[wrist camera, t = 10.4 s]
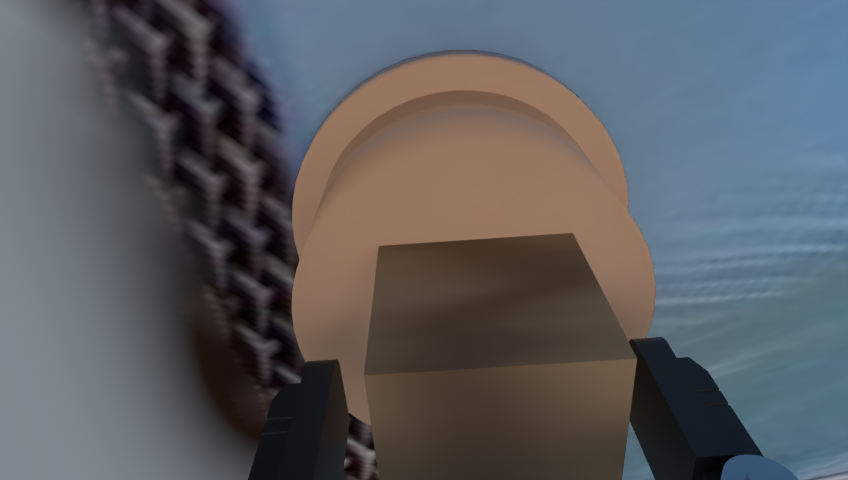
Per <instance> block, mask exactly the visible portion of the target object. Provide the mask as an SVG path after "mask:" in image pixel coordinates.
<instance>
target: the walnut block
mask: <svg viewBox="0 0 848 480" xmlns="http://www.w3.org/2000/svg"><path fill="white" fill-rule="evenodd" d="M636 364H637V357H636V355H635V353H634V351H633V350H632V348H631V346H630V344H629V342H628V340H627V338H626V336H625V334H624V332H623V330H622V328H621V326H620V324H619V322H618V320H617V318H616V316H615V314H614V312H613V310H612V309H611V307H610V305H609V303H608V301H607V299H606V297H605V295H604V293H603V291H602V289H601V287H600V285H599V283H598V281H597V279H596V277H595V275H594V273H593V271H592V269H591V268H590V266H589V264H588V262H587V260H586V258H585V256H584V254H583V252H582V250H581V248H580V246H579V244H578V242H577V240H576V238H575V236H574V234H573V233H563V234H548V235H533V236H518V237H503V238H488V239H474V240H459V241H444V242H429V243H414V244H399V245H384V246H379V248H378V257H377V265H376V274H375V283H374V291H373V300H372V309H371V317H370V326H369V334H368V343H367V352H366V360H365V369H364V381H365V387H366V394H367V400H368V407H369V414H370V420H371V427H372V434H373V440H374V447H375V453H376V460H377V467H378V473H379V480H622V474H623V467H624V459H625V451H626V443H627V435H628V427H629V419H630V411H631V403H632V395H633V387H634V379H635V371H636Z"/></svg>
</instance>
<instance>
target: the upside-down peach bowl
mask: <svg viewBox="0 0 848 480" xmlns="http://www.w3.org/2000/svg"><path fill="white" fill-rule="evenodd" d="M292 224H293V233H294V241H295V245H296V248H297V252H298V256H299V259H300V261H299V264H298V267H297V270H296V274H295V279H294V284H293V290H292V317H293V325H294V331H295V335H296V338H297V342H298V345H299V349H300V351H301V353H302V355H303V357H304V359H305V362H307V361H318V360H332V359H338V361H339V364H340V369H341V374H342V379H343V385H344V390H345V396H346V401H347V407H348V412H349V413H351V414H352V415H354V416H355V417H356V418H358V419H359V420H361V421H362V422H364V423H366V424H368V425H370V426H371V420H370V414H369V407H368V400H367V394H366V387H365V381H364V369H365V360H366V352H367V343H368V334H369V326H370V317H371V309H372V300H373V291H374V283H375V274H376V265H377V257H378V248H379V246H384V245H399V244H414V243H429V242H444V241H459V240H474V239H488V238H503V237H518V236H533V235H548V234H563V233H573V234H574V236H575V238H576V240H577V242H578V244H579V246H580V248H581V250H582V252H583V254H584V256H585V258H586V260H587V262H588V264H589V266H590V268H591V269H592V271H593V273H594V275H595V277H596V279H597V281H598V283H599V285H600V287H601V289H602V291H603V293H604V295H605V297H606V299H607V301H608V303H609V305H610V307H611V309H612V310H613V312H614V314H615V316H616V318H617V320H618V322H619V324H620V326H621V328H622V330H623V332H624V334H625V336H626V338H627V340H628V342H629V340H631V339H642V338H646V337H647V335H648V332H649V329H650V326H651V322H652V317H653V313H654V308H655V292H656V286H655V276H654V267H653V263H652V260H651V256H650V252H649V249H648V246H647V244H646V242H645V240H644V237H643V235H642V233H641V231H640V229H639V227H638V226H637V224H636V223H635V221H634V220H633V218H632V217H631V215H630V214H629V212H628V190H627V182H626V176H625V173H624V169H623V165H622V162H621V158H620V156H619V154H618V152H617V149H616V147H615V145H614V143H613V140H612V139H611V137H610V136H609V134H608V132H607V131H606V129H605V128H604V126H603V125H602V123H601V122H600V120H599V119H598V118H597V117H596V116H595V115H594V114H593V112H592V111H591V110H590V109H589V108H588V107H587V106H586V105H585V103H584V102H583V101H582V100H581V99H580V98H579V97H578V96H577V95H576V94H575V93H574V92H572V91H571V90H570V89H569V88H568V87H567V86H565V85H564V84H563V83H562V82H561V81H559V80H558V79H556V78H555V77H553V76H551V75H550V74H548V73H547V72H545V71H543V70H542V69H540V68H538V67H536V66H533V65H531V64H529V63H526V62H524V61H522V60H520V59H516V58H512V57H509V56H505V55H502V54H498V53H492V52H484V51H477V50H449V51H441V52H434V53H427V54H424V55H420V56H416V57H413V58H409V59H406V60H403V61H401V62H398V63H396V64H394V65H391V66H389V67H387V68H384V69H382V70H381V71H379V72H377V73H376V74H374V75H372V76H371V77H369V78H367V79H366V80H364V81H363V82H362V83H360V84H359V85H358V86H357V87H355V88H354V89H353V90H352V91H350V92H349V93H348V94H347V95H346V96H345V97H344V98H343V99H342V100H341V101H340V102H339V103H338V104H337V105H336V106H335V107H334V108H333V110H332V111H331V112H330V113H329V115H328V116H327V118H326V119H325V121H324V122H323V123H322V125H321V126H320V128H319V129H318V131H317V133H316V135H315V137H314V139H313V141H312V143H311V145H310V147H309V149H308V151H307V153H306V155H305V157H304V159H303V162H302V165H301V168H300V171H299V174H298V177H297V180H296V185H295V191H294V196H293V207H292Z"/></svg>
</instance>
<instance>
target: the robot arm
mask: <svg viewBox="0 0 848 480" xmlns="http://www.w3.org/2000/svg"><path fill="white" fill-rule="evenodd" d="M629 344H630V346H631V348H632V350H633V351H634V353H635V355H636V357H637V364H636V371H635V379H634V387H633V395H632V403H631V411H630V419H629V420H630V422H631V425H632V427H633V429H634V431H635V434H636V436H637V438H638V441H639V443H640V445H641V448H642V450H643V452H644V455H645V457H646V459H647V461H648V464H649V466H650V468H651V471H652V473H653V475H654V478H655V480H798V478H797V477H796V476H795V475H794V474H793V473H792V472H791V471H790V470H788V469H787V468H786V467H784V466H783V465H781V464H779V463H778V462H775V461H773V460H771V459H768V458H766V457H764V456H763V455H762V453H761V452H760V450H759V449H758V447H757V446H756V444H755V443H754V441H753V440H752V438H751V437H750V435H749V434H748V432H747V431H746V429H745V428H744V426H743V425H742V423H741V421H740V420H739V418H738V417H737V415H736V414H735V412H734V411H733V409H732V408H731V406H730V405H729V406H728V402H727V400H726V399H725V397H724V396H723V394H722V393H721V392H719V388H718V386H717V385H716V383H715V382H714V380H713V379H712V377H711V376H710V374H709V373H708V371H707V370H705V369H704V368H703V367H701V366H700V365H699V364H697V363H696V362H695V361H693V360H692V359H691V358H689V357H684V358H676V356H675V354H674V353H673V351H672V349H671V348H670V346H669V344H668V343H667V341H666V340H665V339H664V338H663V337H656V338H642V339H631V340H629ZM348 428H349V418H348V407H347V401H346V396H345V390H344V385H343V379H342V374H341V369H340V364H339V361H338V359H332V360H318V361H307V362H306V364H305V368H304V372H303V375H302V379H301V383H297V384H285V386H284V387H283V388H282V389H281V390H280V392H279V393H278V394H277V395H276V396H275V398H274V399H273V400H272V403H271V406H270V409H269V412H268V416H267V421H266V422H265V426H264V429H263V435H262V436H261V439H260V442H259V445H258V449H257V452H256V455H255V458H254V462H253V465H252V468H251V472H250V475H249V478H248V480H342V475H343V468H344V460H345V453H346V445H347V438H348Z"/></svg>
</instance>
